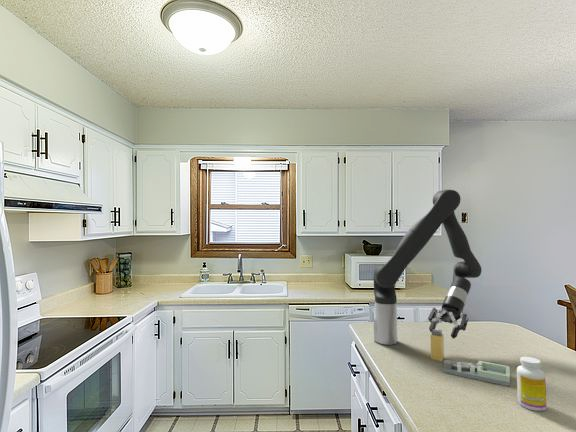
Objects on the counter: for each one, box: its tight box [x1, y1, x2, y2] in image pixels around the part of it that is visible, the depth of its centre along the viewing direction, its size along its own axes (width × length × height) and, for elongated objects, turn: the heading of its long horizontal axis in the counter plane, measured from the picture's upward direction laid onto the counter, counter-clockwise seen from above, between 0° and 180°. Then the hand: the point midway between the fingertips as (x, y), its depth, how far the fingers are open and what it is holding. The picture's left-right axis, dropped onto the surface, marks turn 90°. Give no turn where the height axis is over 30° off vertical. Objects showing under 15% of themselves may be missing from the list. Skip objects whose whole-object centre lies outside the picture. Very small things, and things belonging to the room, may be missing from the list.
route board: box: [443, 359, 511, 387], centre depth 114 cm, size 19×9×3 cm, turn 57°
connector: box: [430, 328, 445, 362], centre depth 128 cm, size 4×4×10 cm
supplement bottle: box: [516, 356, 548, 412], centre depth 94 cm, size 7×7×13 cm
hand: (441, 334), depth 130 cm, fingers open, 8 cm apart
